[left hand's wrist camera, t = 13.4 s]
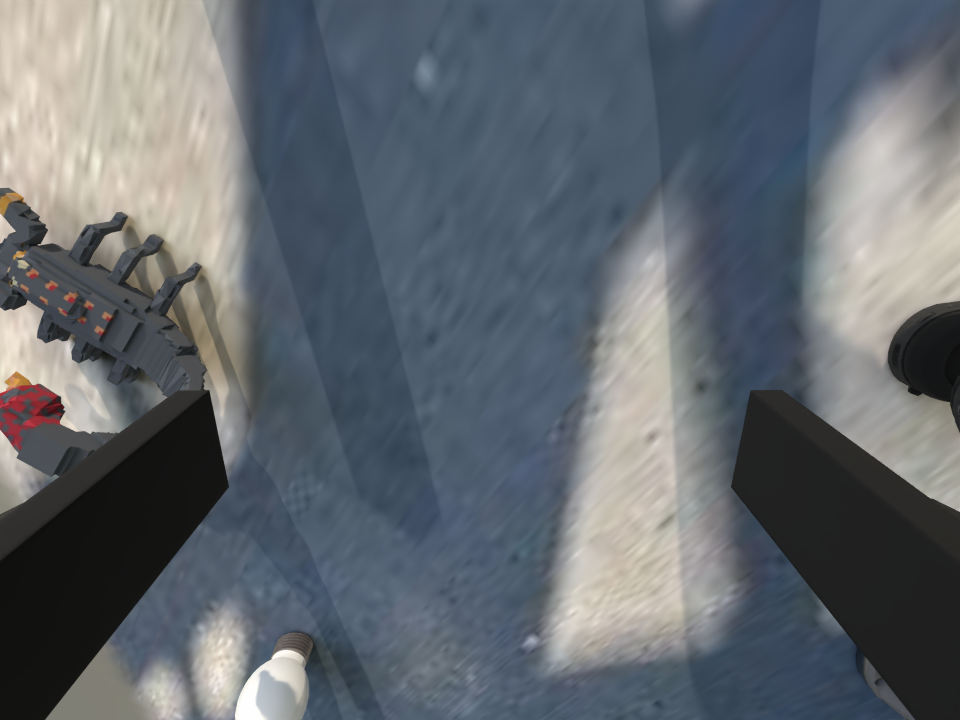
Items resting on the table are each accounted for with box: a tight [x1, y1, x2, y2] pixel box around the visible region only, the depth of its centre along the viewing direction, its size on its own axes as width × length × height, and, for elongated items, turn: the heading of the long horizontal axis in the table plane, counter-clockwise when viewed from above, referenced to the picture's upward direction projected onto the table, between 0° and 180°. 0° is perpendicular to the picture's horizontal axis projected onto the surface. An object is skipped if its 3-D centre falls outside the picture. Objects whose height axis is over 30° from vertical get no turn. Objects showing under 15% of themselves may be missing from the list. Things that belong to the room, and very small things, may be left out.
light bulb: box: [235, 633, 313, 720], centre depth 53 cm, size 7×7×11 cm
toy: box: [0, 188, 207, 477], centre depth 36 cm, size 13×27×18 cm, turn 52°
